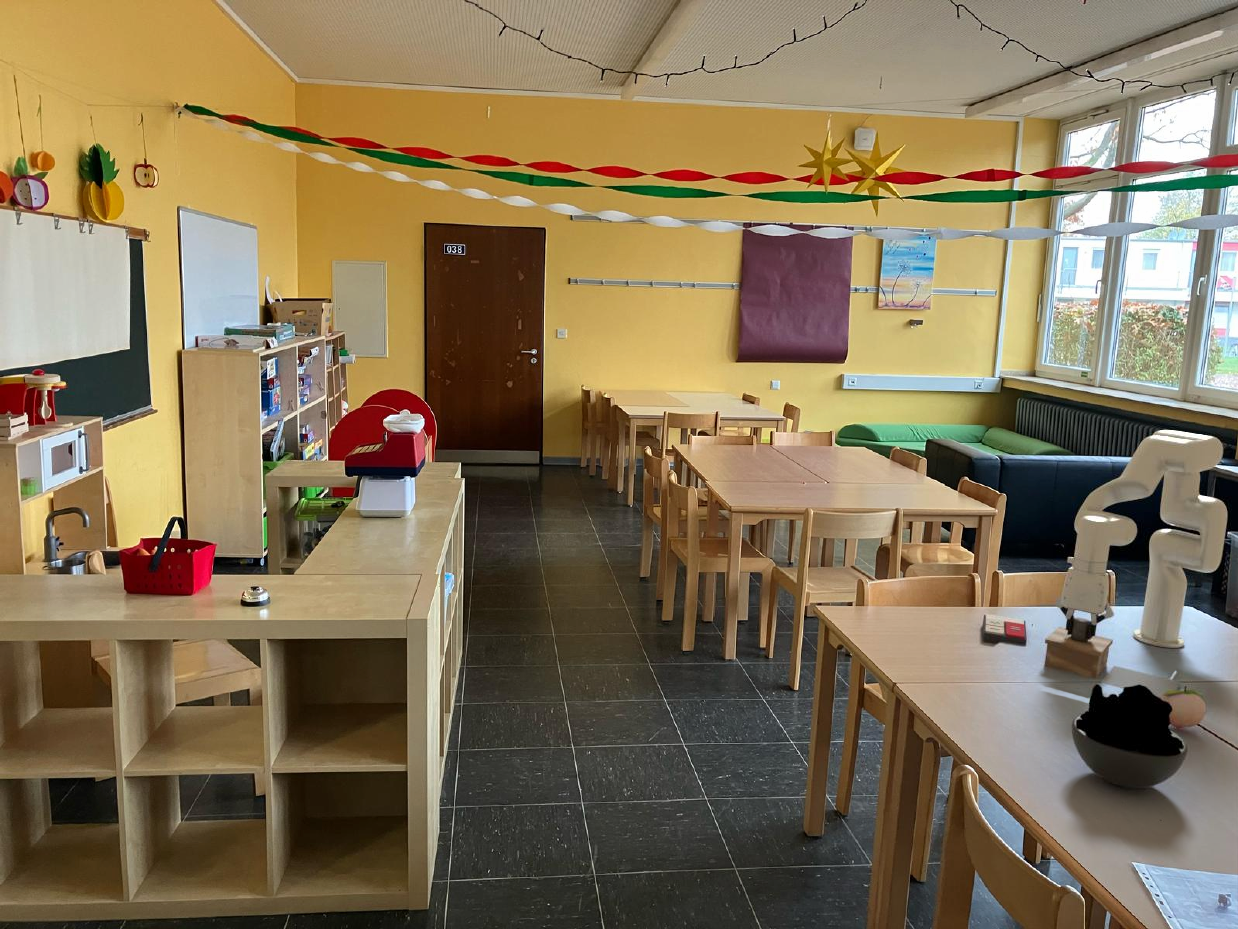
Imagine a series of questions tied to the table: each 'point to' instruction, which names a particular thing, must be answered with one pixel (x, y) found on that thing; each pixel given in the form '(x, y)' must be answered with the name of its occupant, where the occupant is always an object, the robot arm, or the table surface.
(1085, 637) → the lid
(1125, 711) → the coal bowl
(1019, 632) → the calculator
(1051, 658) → the storage box
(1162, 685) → the mat
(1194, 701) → the decorative fruit
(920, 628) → the table surface
